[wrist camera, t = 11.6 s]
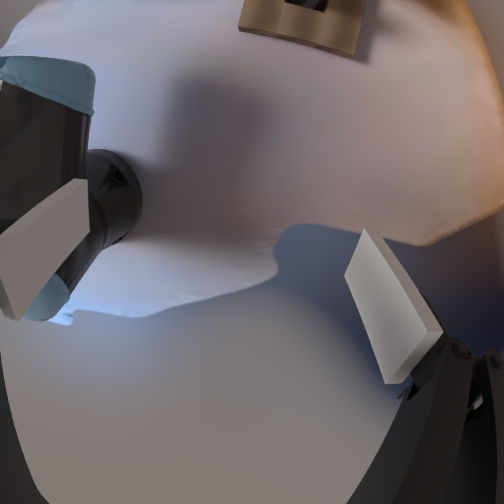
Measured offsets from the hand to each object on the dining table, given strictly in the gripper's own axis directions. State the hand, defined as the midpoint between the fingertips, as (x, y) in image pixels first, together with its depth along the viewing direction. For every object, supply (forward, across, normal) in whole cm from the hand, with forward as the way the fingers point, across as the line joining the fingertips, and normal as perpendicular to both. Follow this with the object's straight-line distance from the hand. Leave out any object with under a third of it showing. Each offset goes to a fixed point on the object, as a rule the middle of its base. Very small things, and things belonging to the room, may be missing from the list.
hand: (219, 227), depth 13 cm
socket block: (+27, +4, +21) cm, 34 cm away
